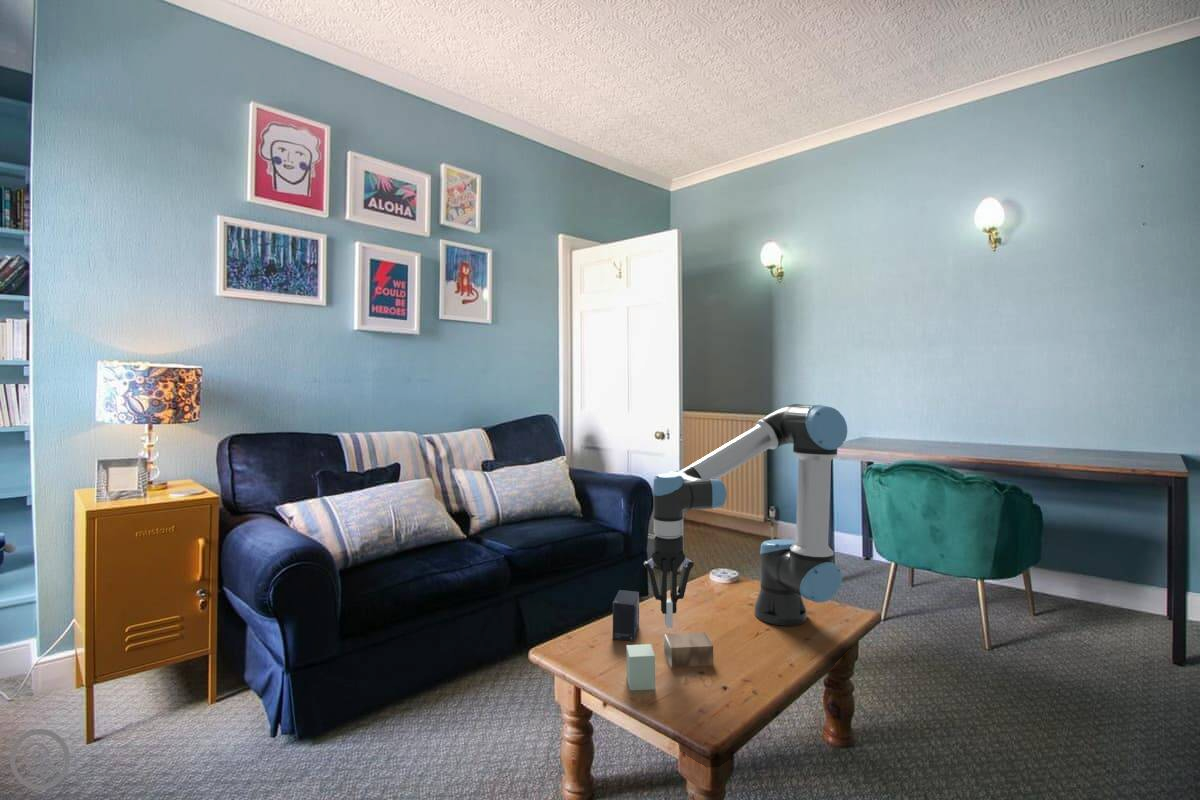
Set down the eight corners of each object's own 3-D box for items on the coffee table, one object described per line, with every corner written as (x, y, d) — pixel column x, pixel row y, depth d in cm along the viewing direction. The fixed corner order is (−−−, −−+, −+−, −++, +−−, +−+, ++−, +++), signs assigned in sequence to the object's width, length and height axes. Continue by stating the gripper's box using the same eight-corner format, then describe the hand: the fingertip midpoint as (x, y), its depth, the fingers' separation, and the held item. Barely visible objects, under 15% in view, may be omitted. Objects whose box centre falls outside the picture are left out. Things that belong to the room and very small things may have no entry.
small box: (635, 641, 161) (634, 604, 161) (611, 639, 162) (611, 602, 162) (640, 625, 171) (639, 590, 171) (618, 624, 173) (618, 589, 172)
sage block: (651, 676, 142) (650, 644, 142) (655, 689, 136) (655, 655, 136) (626, 677, 142) (626, 645, 141) (629, 690, 136) (629, 656, 135)
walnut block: (664, 652, 154) (705, 650, 155) (670, 667, 146) (713, 665, 147) (664, 634, 154) (705, 632, 155) (670, 647, 146) (713, 645, 147)
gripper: (689, 530, 154) (690, 618, 154) (640, 531, 153) (641, 620, 153) (696, 537, 146) (697, 630, 147) (645, 539, 145) (646, 632, 146)
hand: (668, 625), depth 150 cm, fingers closed
